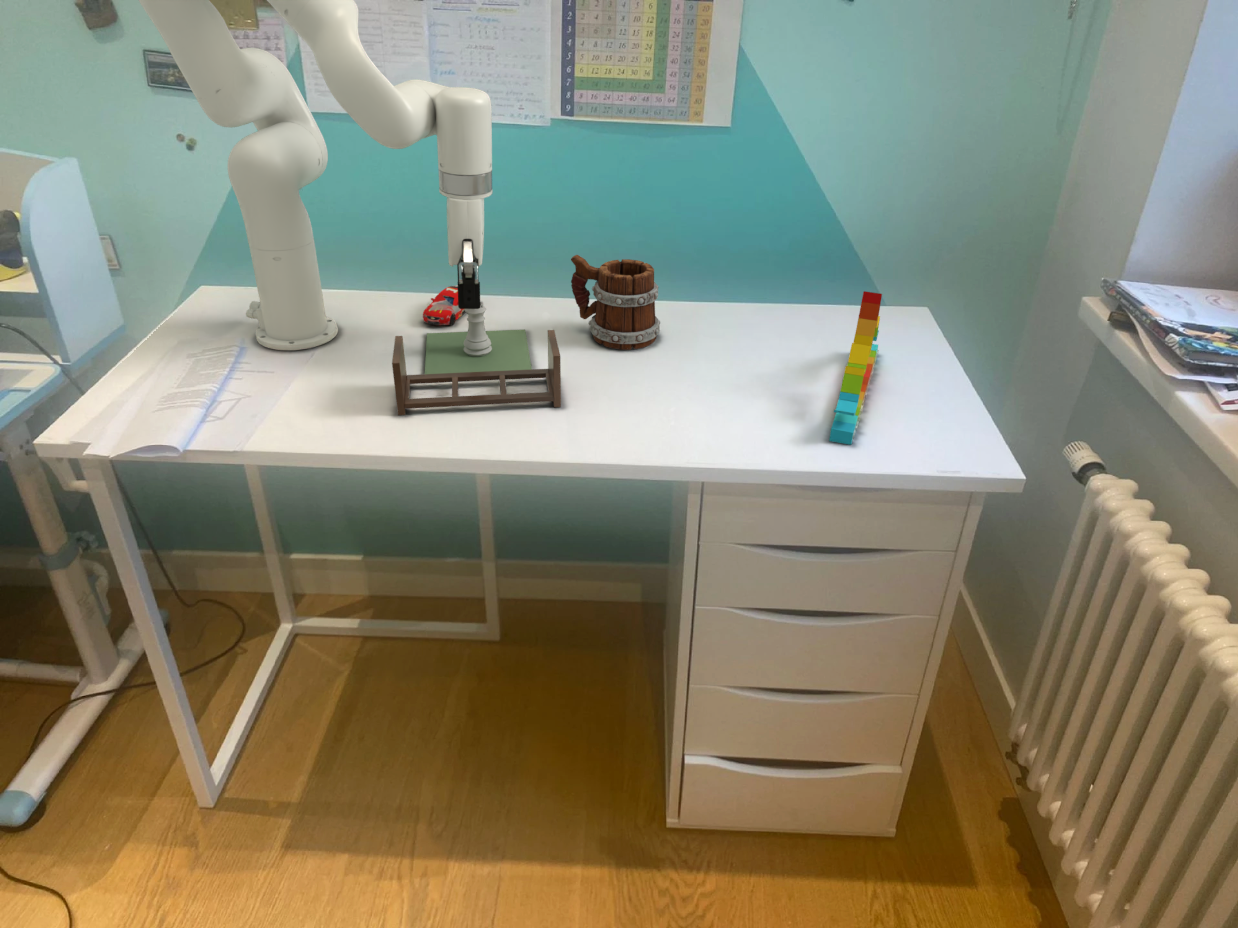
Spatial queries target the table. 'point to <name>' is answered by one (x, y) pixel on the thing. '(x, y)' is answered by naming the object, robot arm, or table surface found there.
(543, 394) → the rack
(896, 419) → the table surface
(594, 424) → the table surface
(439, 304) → the race car
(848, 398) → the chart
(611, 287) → the mug
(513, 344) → the mat
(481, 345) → the rook chess piece
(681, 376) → the table surface
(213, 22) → the robot arm
